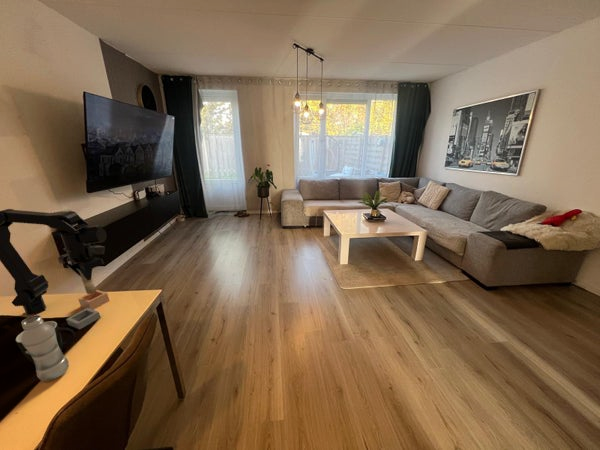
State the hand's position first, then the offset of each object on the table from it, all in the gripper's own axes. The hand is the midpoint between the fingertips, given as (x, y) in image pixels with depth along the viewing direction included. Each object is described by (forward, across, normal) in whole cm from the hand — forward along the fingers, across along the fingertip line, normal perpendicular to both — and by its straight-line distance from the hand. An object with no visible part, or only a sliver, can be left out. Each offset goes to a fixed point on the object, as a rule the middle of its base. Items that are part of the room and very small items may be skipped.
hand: (87, 279), depth 98 cm
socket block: (+13, -8, +8) cm, 17 cm away
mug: (+13, -16, +20) cm, 29 cm away
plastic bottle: (+13, -26, +24) cm, 38 cm away
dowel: (+6, 0, 0) cm, 6 cm away
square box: (+13, 0, 0) cm, 13 cm away
